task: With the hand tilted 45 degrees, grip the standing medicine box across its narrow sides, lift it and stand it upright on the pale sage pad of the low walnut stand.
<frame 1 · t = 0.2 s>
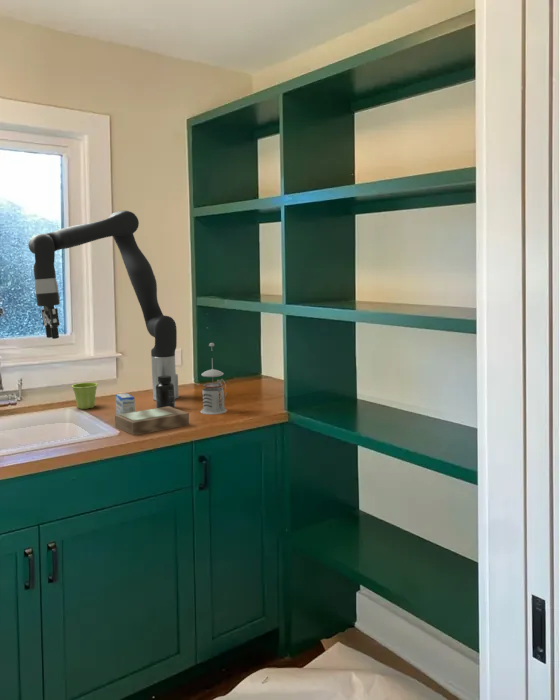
hand: (52, 338, 231), 28 cm above the counter, tool pointing down, fingers open, 8 cm apart
supplement bottle: (165, 408, 244), on the counter
stand: (152, 425, 218), on the counter
medicine box: (126, 420, 227), on the counter
plant pot: (86, 407, 248), on the counter
french press: (215, 412, 237), on the counter
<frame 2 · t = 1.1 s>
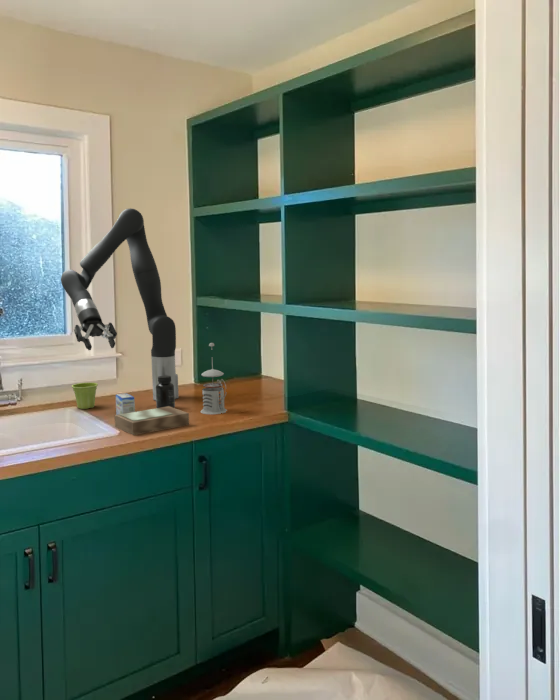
hand: (101, 347, 233), 24 cm above the counter, tool tilted 45°, fingers open, 8 cm apart
nothing on the counter moved.
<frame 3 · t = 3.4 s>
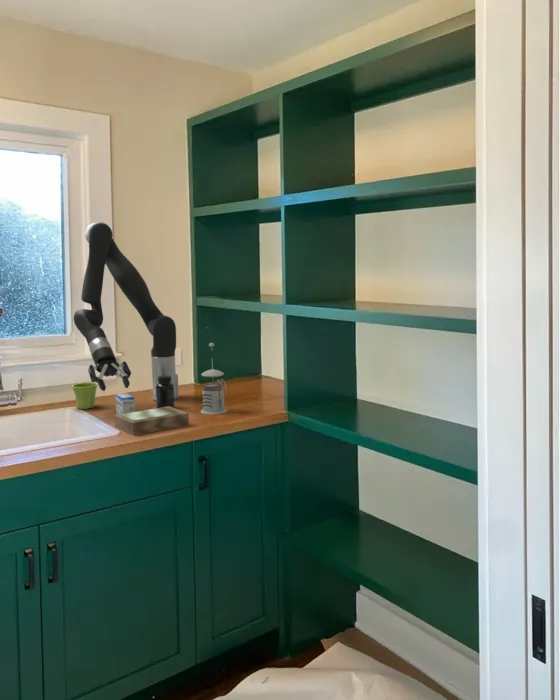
hand: (116, 388, 231), 10 cm above the counter, tool tilted 45°, fingers open, 8 cm apart
nothing on the counter moved.
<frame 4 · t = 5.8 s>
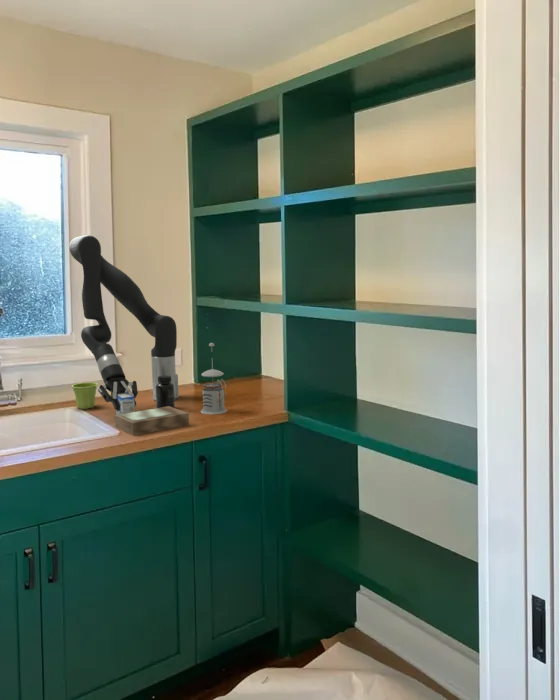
hand: (126, 408, 226), 4 cm above the counter, tool tilted 45°, fingers closed on medicine box, 5 cm apart
medicine box: (125, 420, 227), on the counter, touching gripper
everything else where it was.
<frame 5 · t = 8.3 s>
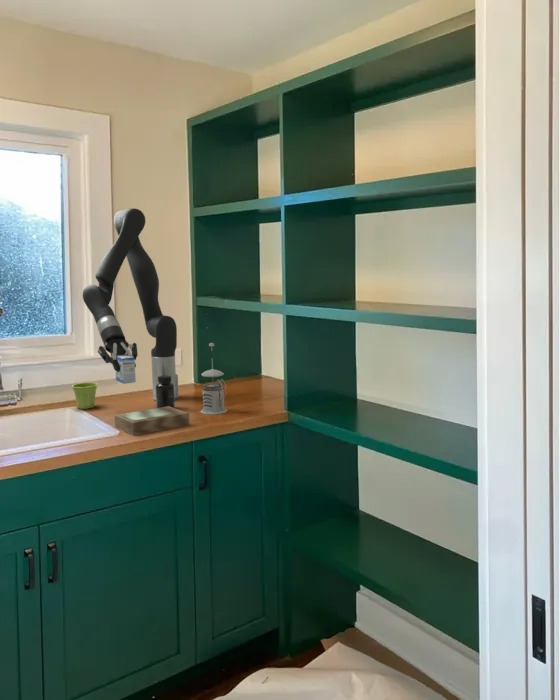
hand: (126, 369, 223), 18 cm above the counter, tool tilted 45°, fingers closed on medicine box, 4 cm apart
medicine box: (125, 382, 224), point 13 cm above the counter, touching gripper
everything else where it was.
when the fingers open (10 cm above the counter, at t = 11.3 s): medicine box drops 1 cm, resting on stand.
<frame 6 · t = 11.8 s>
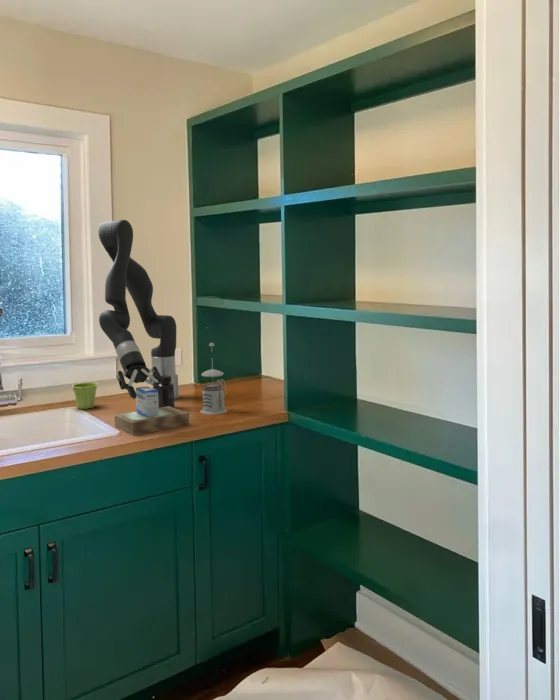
hand: (147, 395, 214), 11 cm above the counter, tool tilted 45°, fingers open, 8 cm apart
medicine box: (147, 414, 216), point 4 cm above the counter, touching stand
everything else where it was.
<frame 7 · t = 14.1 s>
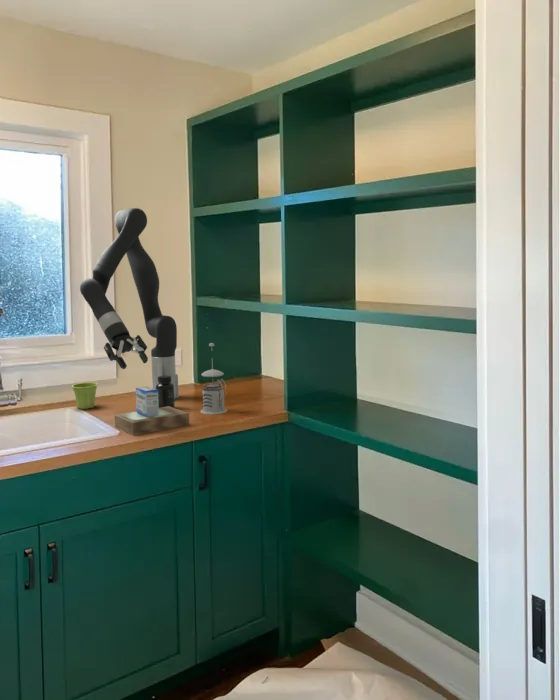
hand: (135, 364, 225), 19 cm above the counter, tool tilted 40°, fingers open, 8 cm apart
nothing on the counter moved.
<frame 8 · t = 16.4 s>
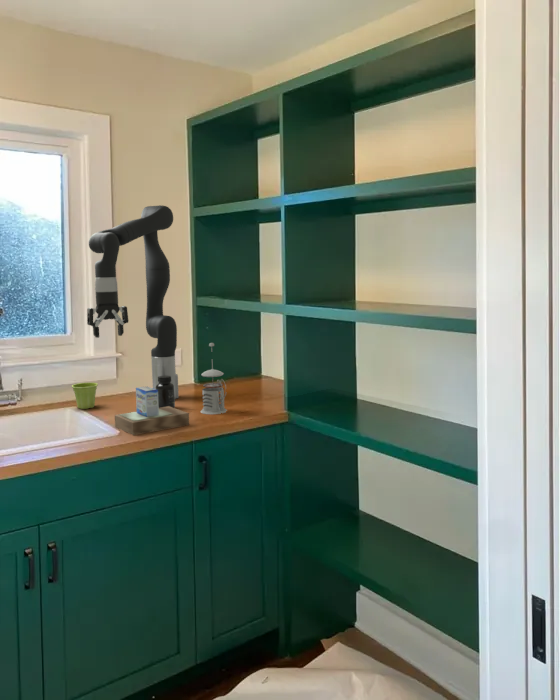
hand: (108, 336, 232), 28 cm above the counter, tool pointing down, fingers open, 8 cm apart
nothing on the counter moved.
at the end: medicine box inside the target area on the stand (1.8 cm from its centre), point 4.1 cm above the stand's base; medicine box tilted 0°; the gripper is holding nothing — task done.
